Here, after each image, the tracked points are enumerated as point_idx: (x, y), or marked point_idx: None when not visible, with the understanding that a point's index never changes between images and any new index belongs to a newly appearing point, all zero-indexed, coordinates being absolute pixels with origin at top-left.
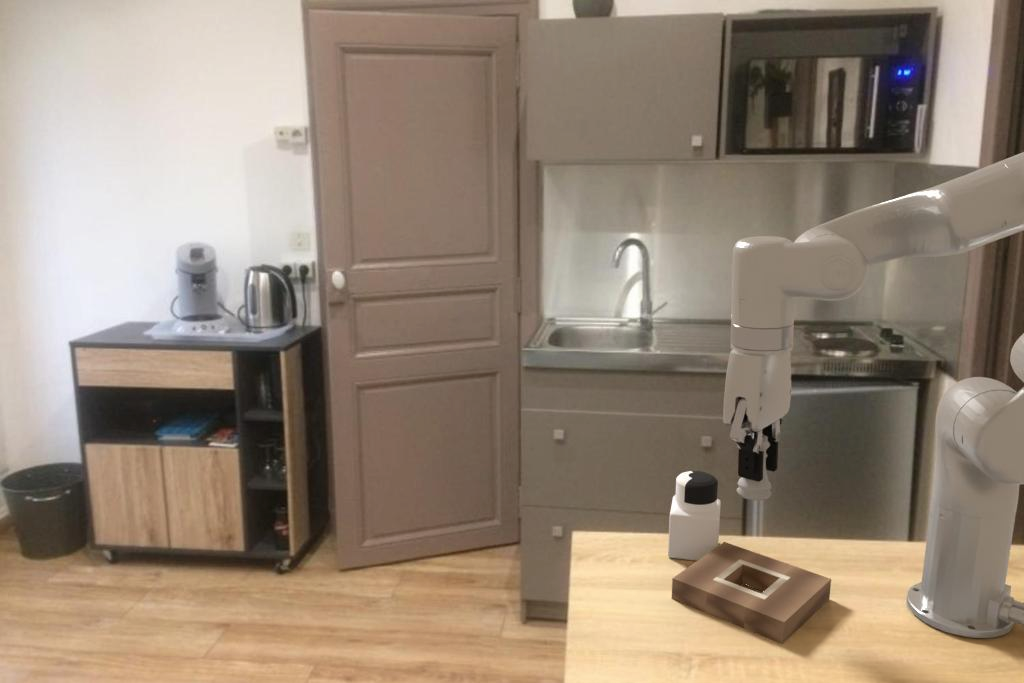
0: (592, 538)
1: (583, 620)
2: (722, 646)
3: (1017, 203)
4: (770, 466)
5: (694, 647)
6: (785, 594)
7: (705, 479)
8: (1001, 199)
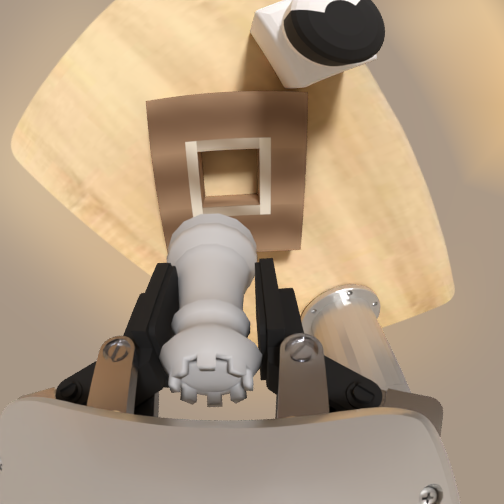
0: None
1: (52, 79)
2: (121, 203)
3: None
4: (256, 315)
5: (98, 186)
6: None
7: (341, 38)
8: None
